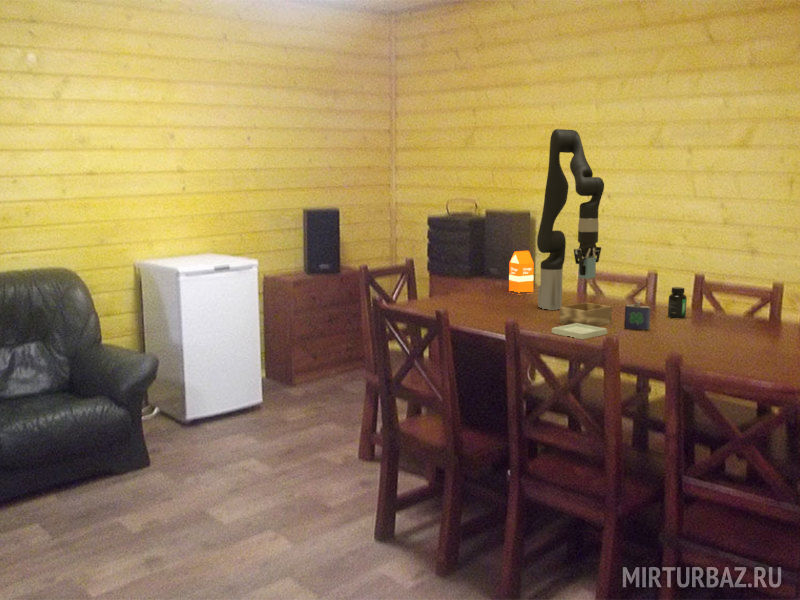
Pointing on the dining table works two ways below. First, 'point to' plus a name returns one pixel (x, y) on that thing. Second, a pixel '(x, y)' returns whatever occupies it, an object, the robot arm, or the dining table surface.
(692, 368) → the dining table surface
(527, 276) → the orange juice
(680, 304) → the supplement bottle
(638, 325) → the flask
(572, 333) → the plate
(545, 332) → the dining table surface
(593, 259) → the block
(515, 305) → the dining table surface
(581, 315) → the crate
